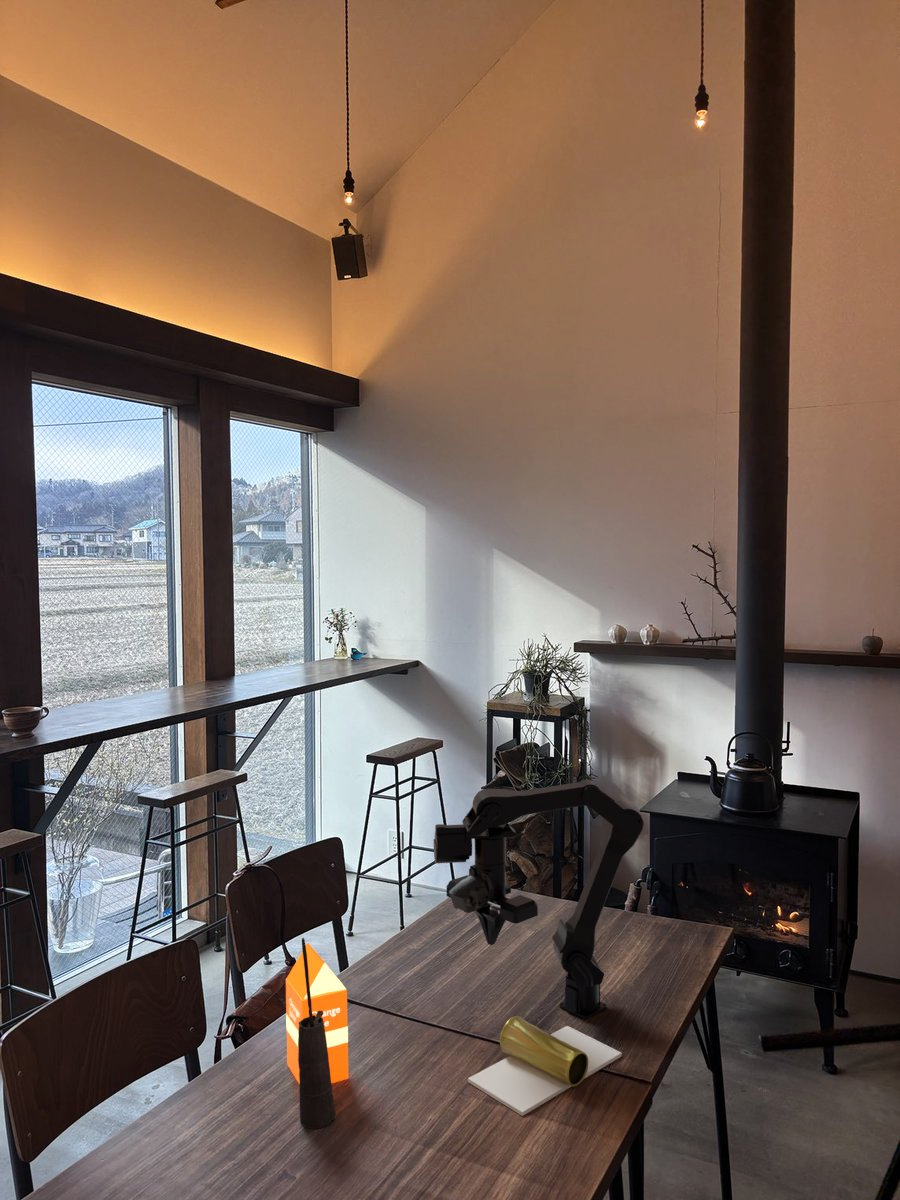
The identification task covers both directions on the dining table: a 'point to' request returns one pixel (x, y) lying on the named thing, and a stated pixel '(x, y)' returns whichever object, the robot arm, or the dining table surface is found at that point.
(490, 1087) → the mat
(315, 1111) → the butter churn
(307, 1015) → the orange juice
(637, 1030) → the dining table surface
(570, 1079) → the vase
